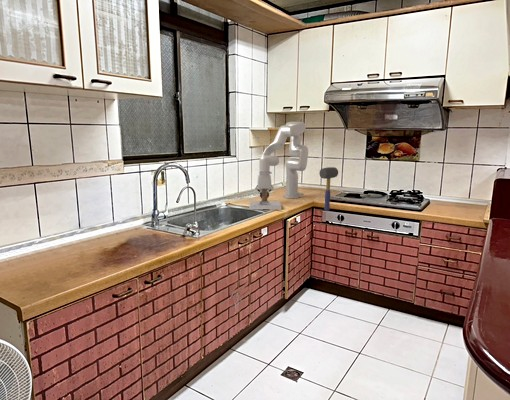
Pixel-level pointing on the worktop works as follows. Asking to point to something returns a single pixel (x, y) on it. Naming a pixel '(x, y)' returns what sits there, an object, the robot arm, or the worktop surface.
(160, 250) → the worktop surface
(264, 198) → the walnut wedge
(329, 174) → the rubber mallet
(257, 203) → the rosette plate
